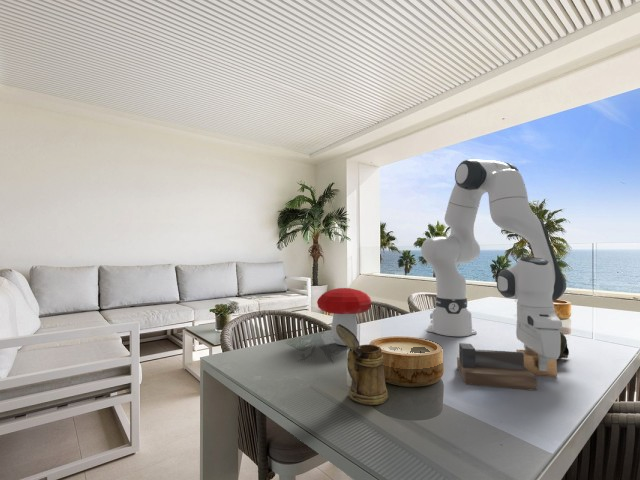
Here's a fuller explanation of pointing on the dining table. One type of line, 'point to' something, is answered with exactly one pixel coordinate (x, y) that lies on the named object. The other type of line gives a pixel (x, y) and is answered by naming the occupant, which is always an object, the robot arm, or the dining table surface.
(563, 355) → the seashell
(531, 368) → the slotted cardboard block
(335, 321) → the mushroom
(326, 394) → the dining table surface
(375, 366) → the wooden mug
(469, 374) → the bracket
